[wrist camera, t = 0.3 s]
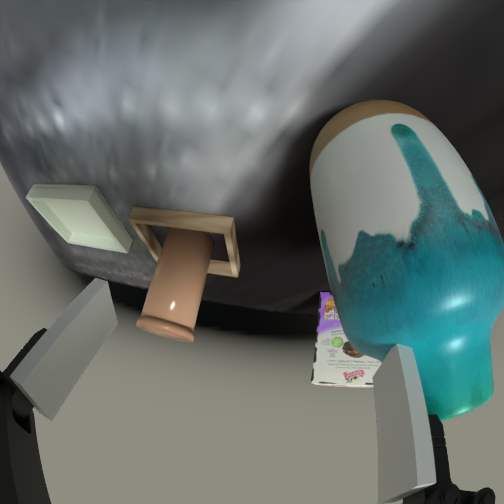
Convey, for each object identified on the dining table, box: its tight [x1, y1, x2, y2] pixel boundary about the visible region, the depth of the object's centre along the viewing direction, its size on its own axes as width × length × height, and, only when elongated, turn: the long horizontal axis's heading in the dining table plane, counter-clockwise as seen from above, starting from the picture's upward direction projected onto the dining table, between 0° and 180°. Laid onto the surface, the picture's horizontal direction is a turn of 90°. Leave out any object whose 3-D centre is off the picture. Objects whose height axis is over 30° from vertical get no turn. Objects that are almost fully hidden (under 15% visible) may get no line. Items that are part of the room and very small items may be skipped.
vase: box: [309, 100, 504, 421], centre depth 15 cm, size 11×11×19 cm
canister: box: [137, 227, 215, 342], centre depth 37 cm, size 8×8×14 cm
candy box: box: [311, 292, 382, 387], centre depth 46 cm, size 14×6×16 cm, turn 103°
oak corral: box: [128, 207, 240, 277], centre depth 40 cm, size 14×14×2 cm
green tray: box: [26, 184, 133, 253], centre depth 38 cm, size 14×14×2 cm
